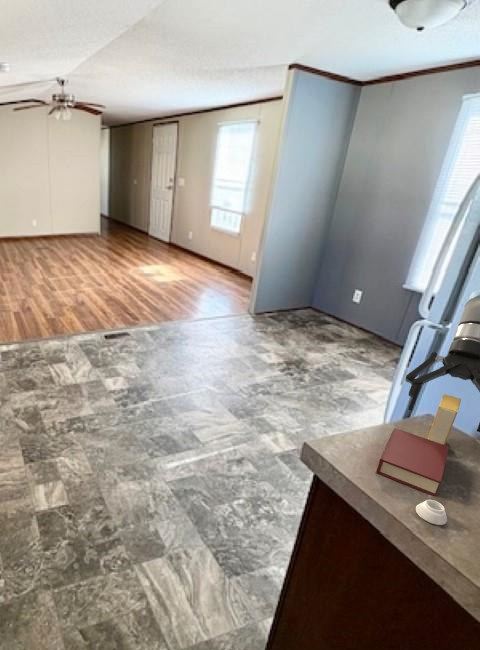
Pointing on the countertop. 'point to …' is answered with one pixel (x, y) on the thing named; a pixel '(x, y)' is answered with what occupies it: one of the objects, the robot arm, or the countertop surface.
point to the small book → (444, 419)
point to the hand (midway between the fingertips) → (443, 419)
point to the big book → (413, 461)
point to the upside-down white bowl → (432, 512)
